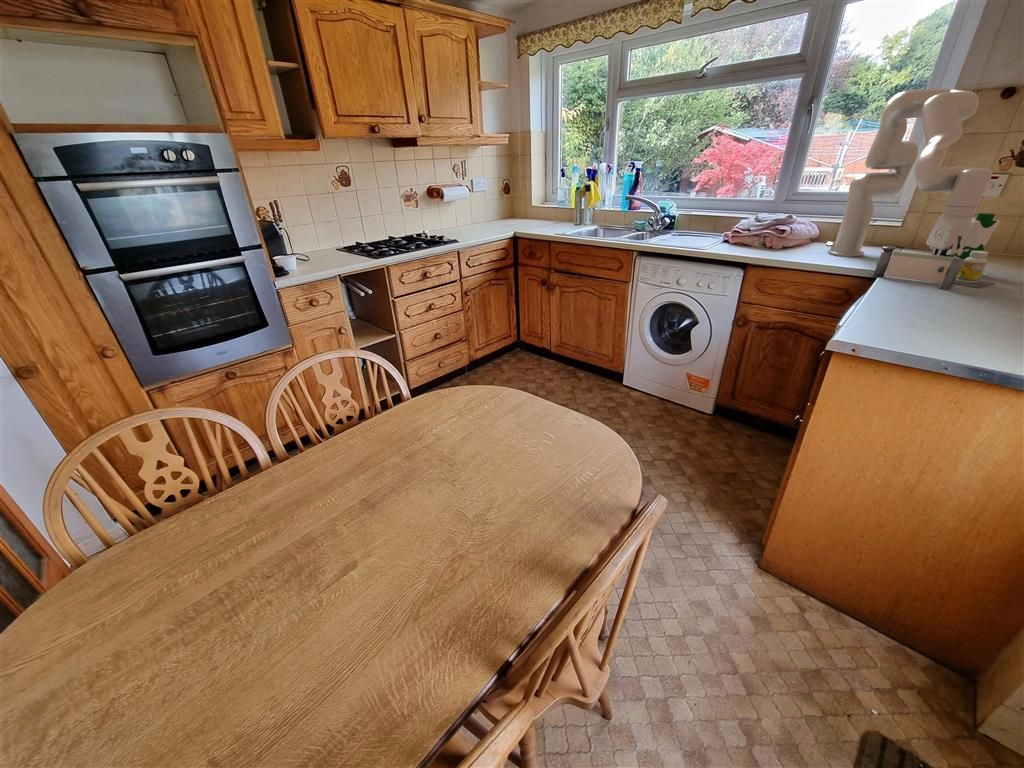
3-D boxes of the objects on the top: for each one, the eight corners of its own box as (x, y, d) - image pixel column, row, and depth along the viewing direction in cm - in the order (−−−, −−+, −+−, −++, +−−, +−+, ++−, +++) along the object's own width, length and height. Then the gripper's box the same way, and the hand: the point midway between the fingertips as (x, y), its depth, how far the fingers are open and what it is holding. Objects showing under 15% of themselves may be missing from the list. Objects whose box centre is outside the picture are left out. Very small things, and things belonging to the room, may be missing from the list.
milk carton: (951, 275, 152) (978, 215, 142) (931, 269, 160) (956, 211, 150) (978, 275, 151) (1007, 214, 142) (957, 269, 159) (984, 211, 149)
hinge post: (869, 275, 155) (879, 246, 150) (875, 274, 156) (886, 245, 151) (881, 278, 152) (891, 248, 147) (887, 276, 153) (898, 247, 148)
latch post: (935, 288, 139) (948, 258, 135) (940, 287, 140) (953, 257, 135) (945, 290, 137) (959, 260, 132) (950, 289, 138) (964, 259, 133)
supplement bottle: (980, 283, 140) (995, 253, 136) (959, 282, 142) (972, 252, 138) (973, 279, 145) (987, 250, 140) (952, 278, 147) (965, 249, 142)
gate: (883, 276, 152) (892, 252, 148) (885, 275, 153) (894, 251, 149) (944, 284, 141) (956, 258, 137) (945, 283, 142) (957, 257, 138)
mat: (940, 281, 146) (940, 280, 146) (956, 277, 149) (956, 276, 149) (978, 288, 138) (978, 287, 138) (994, 283, 141) (995, 282, 141)
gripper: (930, 208, 144) (907, 264, 152) (961, 215, 131) (934, 275, 140) (956, 208, 142) (932, 264, 151) (990, 214, 129) (961, 275, 138)
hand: (933, 269), depth 145 cm, fingers closed
